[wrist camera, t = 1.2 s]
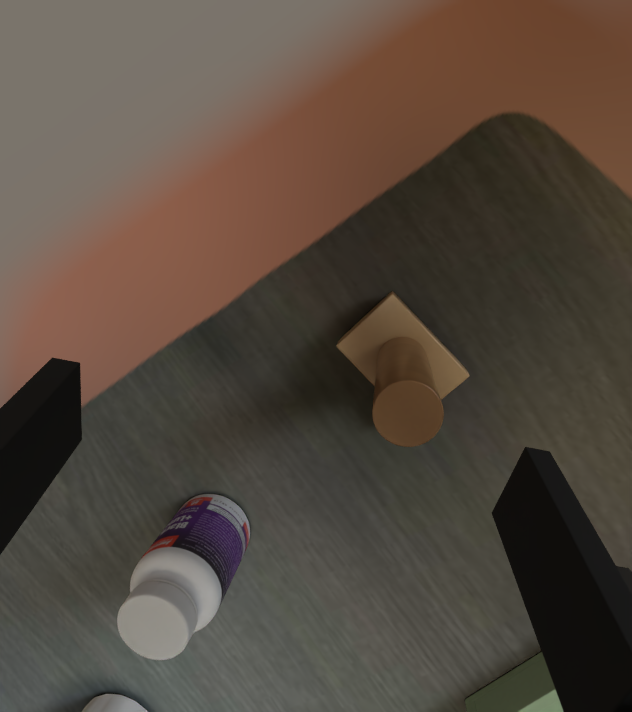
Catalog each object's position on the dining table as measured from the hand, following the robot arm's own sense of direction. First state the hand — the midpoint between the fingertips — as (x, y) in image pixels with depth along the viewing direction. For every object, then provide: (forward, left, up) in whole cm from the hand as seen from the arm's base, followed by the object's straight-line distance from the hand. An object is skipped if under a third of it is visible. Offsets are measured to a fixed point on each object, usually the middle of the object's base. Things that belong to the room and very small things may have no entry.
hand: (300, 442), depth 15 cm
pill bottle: (+16, +4, -17) cm, 24 cm away
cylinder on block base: (-2, +3, -17) cm, 17 cm away
